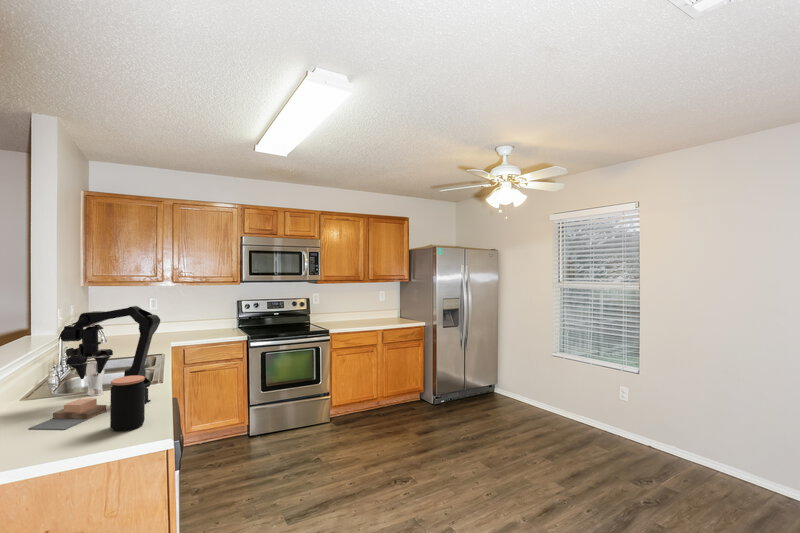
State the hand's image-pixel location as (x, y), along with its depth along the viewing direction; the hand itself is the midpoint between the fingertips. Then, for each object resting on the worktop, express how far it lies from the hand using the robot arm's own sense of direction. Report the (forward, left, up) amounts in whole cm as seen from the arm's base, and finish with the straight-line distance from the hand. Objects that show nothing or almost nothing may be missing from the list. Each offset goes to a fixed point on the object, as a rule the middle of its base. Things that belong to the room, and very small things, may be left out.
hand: (91, 376), depth 177 cm
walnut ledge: (-6, +12, -13) cm, 18 cm away
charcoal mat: (-6, +22, -13) cm, 26 cm away
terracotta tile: (-6, +12, -10) cm, 17 cm away
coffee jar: (-34, +23, -13) cm, 43 cm away
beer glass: (+10, -15, -13) cm, 22 cm away
